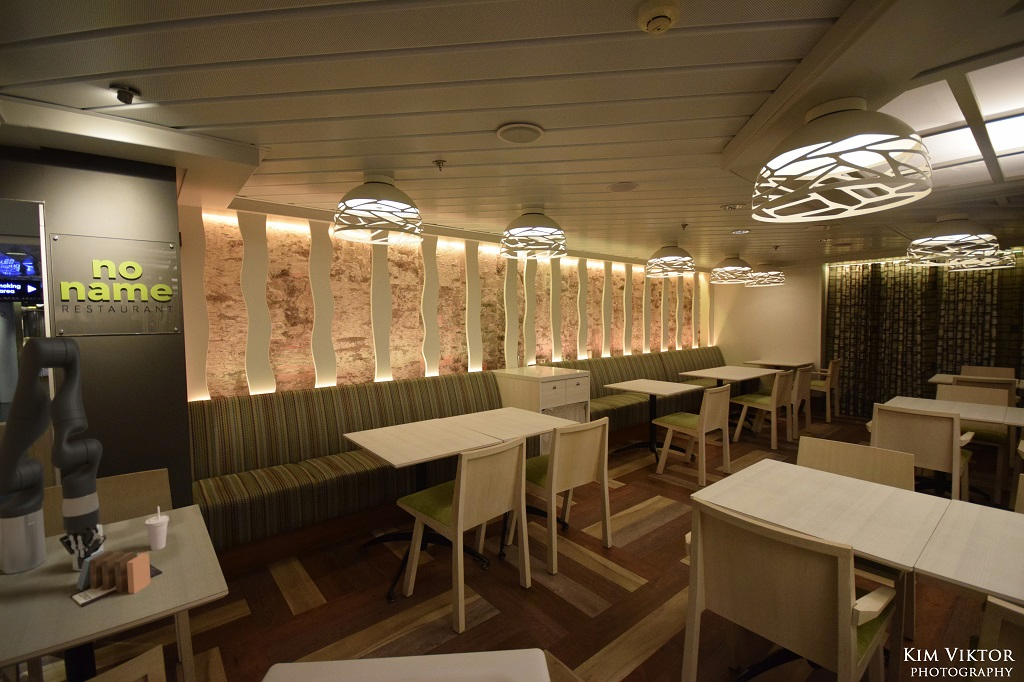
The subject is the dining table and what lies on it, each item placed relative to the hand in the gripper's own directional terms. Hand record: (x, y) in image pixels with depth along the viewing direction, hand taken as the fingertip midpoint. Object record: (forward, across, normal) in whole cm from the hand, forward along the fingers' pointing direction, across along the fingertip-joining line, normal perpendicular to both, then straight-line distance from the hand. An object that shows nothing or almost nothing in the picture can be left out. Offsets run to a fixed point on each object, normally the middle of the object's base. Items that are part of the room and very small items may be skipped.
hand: (84, 567), depth 129 cm
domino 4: (+5, -13, 0) cm, 14 cm away
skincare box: (+5, +10, -9) cm, 14 cm away
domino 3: (+5, -9, 0) cm, 10 cm away
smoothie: (+5, -2, -21) cm, 22 cm away
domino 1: (+5, -1, 0) cm, 5 cm away
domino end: (+5, -17, 0) cm, 18 cm away
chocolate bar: (+6, -9, -1) cm, 11 cm away
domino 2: (+5, -5, 0) cm, 7 cm away
